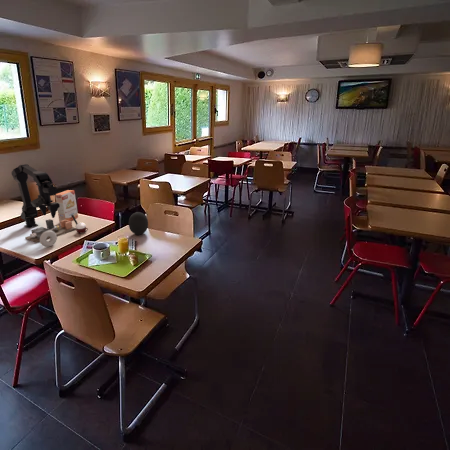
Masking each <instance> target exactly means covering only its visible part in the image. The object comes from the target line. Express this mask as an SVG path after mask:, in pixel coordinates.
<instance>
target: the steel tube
mask: <svg viewBox="0 0 450 450" xmlns="http://www.w3.org/2000/svg"><path fill="white" fill-rule="evenodd" d="M45 224H46V228H47V229H48V230H50V231H53V232H54V231H57V230H59V225H55V224H54V219H51V218H49V219H46V220H45ZM29 236H31V238H35V237H37V235H36V233H32V232H31V233H30V234H29Z"/></svg>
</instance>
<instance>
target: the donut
mask: <svg viewBox="0 0 450 450" xmlns="http://www.w3.org/2000/svg"><path fill="white" fill-rule="evenodd" d="M48 236H50V237H51V238H50V239H48V240H46V238H47V237H48ZM57 241H58V236H57V235H56V233H55V232H53V231H50V230H48V231H45V232H43V233H42V234H41V236H40V242H39V243H40V244H41V245H42V247H44V248H45V247H46V248H49V247H52V246H54V245H55V244H56V243H57Z"/></svg>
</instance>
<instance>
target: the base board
mask: <svg viewBox="0 0 450 450" xmlns="http://www.w3.org/2000/svg"><path fill="white" fill-rule="evenodd" d="M58 226H59V225H58ZM30 231H31V234H32V233H36V235H37V237H35V238H31V236H30V235H29V236H25V240H27V241H31V242H32V243H35V244H38V243H40V236H41V234H42V233H43V232H45V231H48V228H47V227H45V226H40V227H37V228H34V229H31V230H30ZM74 231H76V228H75V227H74V226H72V228H70V229H66V227H63V228H61V225H60V226H59V230H57V231H54V232H55V233H56V235H57V237H58V236H61V235H65V234H68V233H70V232H74ZM50 239H51V237H50V236H48V237H47V238H46V241H48V240H50Z"/></svg>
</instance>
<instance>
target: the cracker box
mask: <svg viewBox="0 0 450 450" xmlns="http://www.w3.org/2000/svg"><path fill="white" fill-rule="evenodd" d="M54 197H55V202H56V203H59V204H60V207H59V208H58V209H57V215H58V221H59V223H60V221H62V220H68V221H71V222H72V221H74V219H73V217H72V216H71V215H72V214H73V215H74V217H75V219H77V218H79V213H78V206H77V200H76V199H77V197H76V192H75V190H74V189H72V190H71V189H70V190H69V189H67V190H64V191H62V192H57V194H56V195H54Z"/></svg>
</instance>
